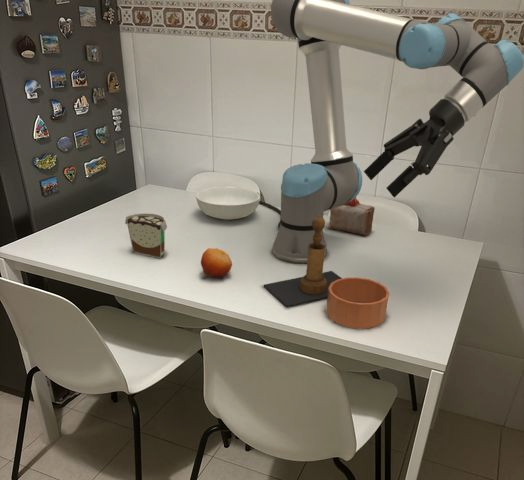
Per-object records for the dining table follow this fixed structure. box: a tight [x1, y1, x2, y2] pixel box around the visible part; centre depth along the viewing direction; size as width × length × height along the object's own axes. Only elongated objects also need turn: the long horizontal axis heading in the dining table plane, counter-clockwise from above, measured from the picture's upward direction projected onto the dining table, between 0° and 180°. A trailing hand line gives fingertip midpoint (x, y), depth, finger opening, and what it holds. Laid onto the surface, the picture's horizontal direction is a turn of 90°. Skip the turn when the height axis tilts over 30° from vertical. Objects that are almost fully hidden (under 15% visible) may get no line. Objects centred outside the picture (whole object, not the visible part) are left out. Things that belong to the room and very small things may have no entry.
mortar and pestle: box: [300, 216, 327, 295], centre depth 122 cm, size 7×6×18 cm
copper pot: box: [325, 276, 390, 330], centre depth 117 cm, size 13×13×6 cm
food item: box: [328, 196, 375, 236], centre depth 161 cm, size 14×8×10 cm, turn 59°
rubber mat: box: [263, 270, 343, 309], centre depth 128 cm, size 12×20×1 cm, turn 117°
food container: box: [124, 212, 168, 259], centre depth 143 cm, size 12×6×10 cm, turn 65°
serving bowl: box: [195, 186, 261, 221], centre depth 171 cm, size 21×21×7 cm
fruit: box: [200, 247, 233, 279], centre depth 132 cm, size 8×8×8 cm
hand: (378, 184), depth 117 cm, fingers open, 13 cm apart
